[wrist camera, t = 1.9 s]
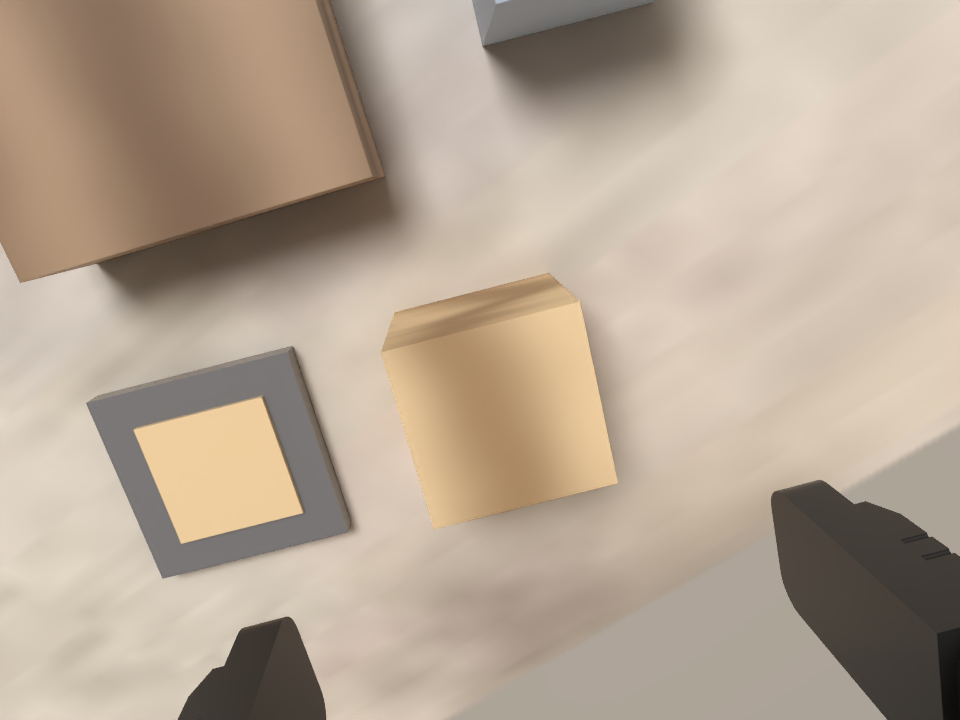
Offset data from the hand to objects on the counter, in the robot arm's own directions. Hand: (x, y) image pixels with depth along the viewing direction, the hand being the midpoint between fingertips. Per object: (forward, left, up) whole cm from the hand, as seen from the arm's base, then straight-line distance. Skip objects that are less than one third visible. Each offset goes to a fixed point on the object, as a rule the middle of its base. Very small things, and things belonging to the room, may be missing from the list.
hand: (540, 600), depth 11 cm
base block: (+7, -12, -14) cm, 20 cm away
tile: (+10, +1, -14) cm, 17 cm away
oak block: (0, 0, -14) cm, 14 cm away
